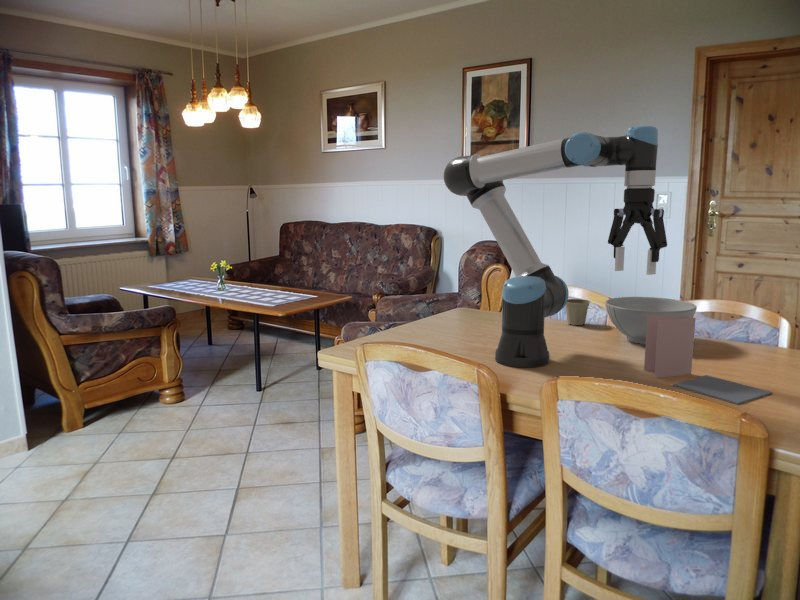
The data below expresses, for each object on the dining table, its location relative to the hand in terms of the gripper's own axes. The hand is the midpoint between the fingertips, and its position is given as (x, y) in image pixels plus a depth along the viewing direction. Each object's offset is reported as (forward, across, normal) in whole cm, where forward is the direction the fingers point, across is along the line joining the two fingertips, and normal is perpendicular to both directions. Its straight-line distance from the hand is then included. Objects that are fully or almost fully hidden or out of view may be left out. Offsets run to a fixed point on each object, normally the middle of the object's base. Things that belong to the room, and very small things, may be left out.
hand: (634, 272), depth 159 cm
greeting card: (+26, -12, 0) cm, 28 cm away
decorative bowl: (+26, +15, -28) cm, 41 cm away
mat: (+26, -26, 0) cm, 36 cm away
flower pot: (+26, +45, -28) cm, 59 cm away
